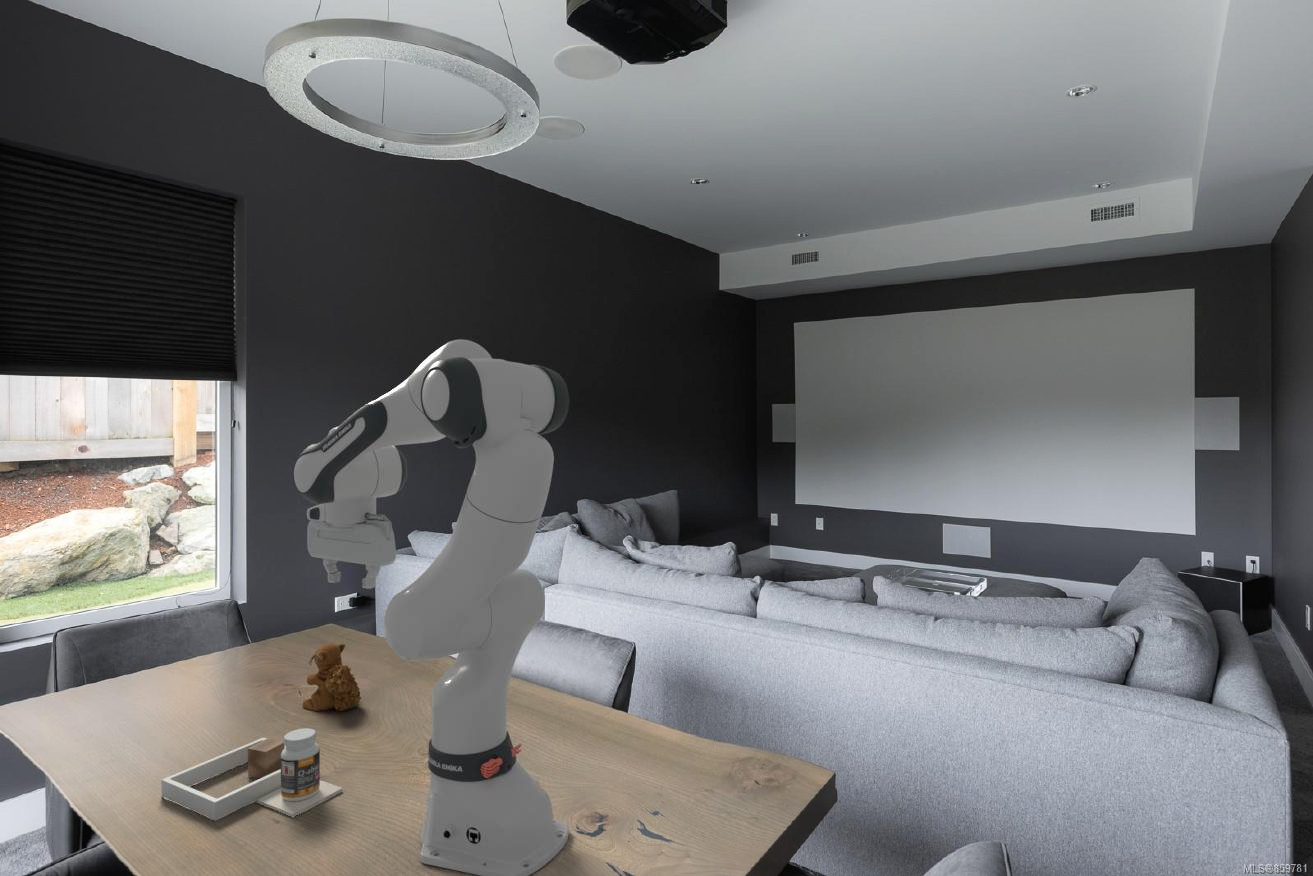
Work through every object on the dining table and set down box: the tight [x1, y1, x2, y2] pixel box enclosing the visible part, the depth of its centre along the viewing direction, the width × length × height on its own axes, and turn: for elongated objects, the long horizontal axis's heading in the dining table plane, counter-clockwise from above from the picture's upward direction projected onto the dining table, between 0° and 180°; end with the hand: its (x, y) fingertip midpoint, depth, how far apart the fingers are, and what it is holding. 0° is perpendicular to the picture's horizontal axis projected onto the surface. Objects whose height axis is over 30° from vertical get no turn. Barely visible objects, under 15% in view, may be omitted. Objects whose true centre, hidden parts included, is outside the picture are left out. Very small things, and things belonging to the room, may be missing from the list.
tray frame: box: [161, 737, 286, 821], centre depth 122 cm, size 15×18×3 cm
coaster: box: [256, 779, 343, 818], centre depth 118 cm, size 9×9×1 cm
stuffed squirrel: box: [301, 642, 362, 712], centre depth 155 cm, size 10×14×13 cm
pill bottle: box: [281, 727, 321, 801], centre depth 118 cm, size 6×6×10 cm
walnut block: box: [247, 738, 285, 779], centre depth 126 cm, size 4×4×5 cm
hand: (351, 584), depth 134 cm, fingers open, 8 cm apart
